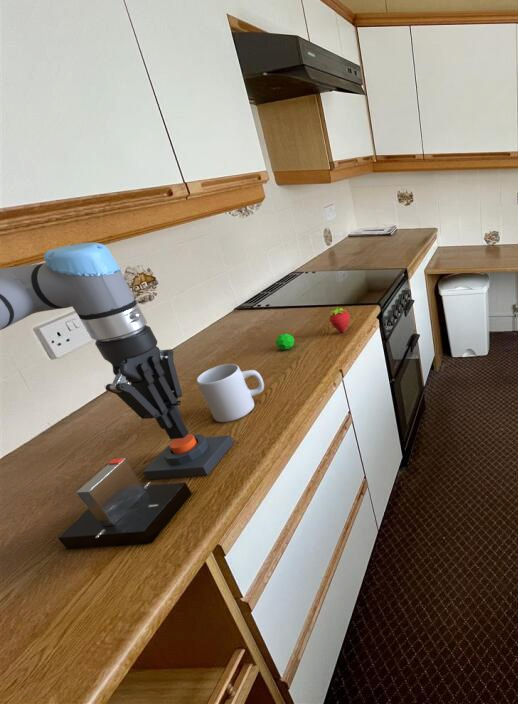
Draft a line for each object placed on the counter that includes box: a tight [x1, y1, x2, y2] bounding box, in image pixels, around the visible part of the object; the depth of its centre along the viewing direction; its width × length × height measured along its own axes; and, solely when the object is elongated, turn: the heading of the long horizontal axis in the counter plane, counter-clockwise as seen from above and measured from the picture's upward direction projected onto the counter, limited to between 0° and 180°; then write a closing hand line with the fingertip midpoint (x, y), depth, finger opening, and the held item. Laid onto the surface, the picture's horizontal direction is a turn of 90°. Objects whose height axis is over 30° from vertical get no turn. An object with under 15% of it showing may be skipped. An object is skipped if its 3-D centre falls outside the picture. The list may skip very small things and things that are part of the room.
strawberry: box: [329, 307, 350, 334], centre depth 132 cm, size 6×8×10 cm
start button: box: [169, 433, 197, 454], centre depth 82 cm, size 4×4×2 cm
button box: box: [142, 433, 234, 481], centre depth 83 cm, size 12×9×4 cm
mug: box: [196, 363, 265, 423], centre depth 97 cm, size 12×8×11 cm
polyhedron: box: [275, 333, 295, 351], centre depth 126 cm, size 5×5×5 cm
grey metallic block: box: [76, 457, 146, 526], centre depth 69 cm, size 7×2×8 cm, turn 2°
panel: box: [57, 481, 193, 551], centre depth 71 cm, size 14×11×3 cm
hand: (179, 435), depth 81 cm, fingers closed
